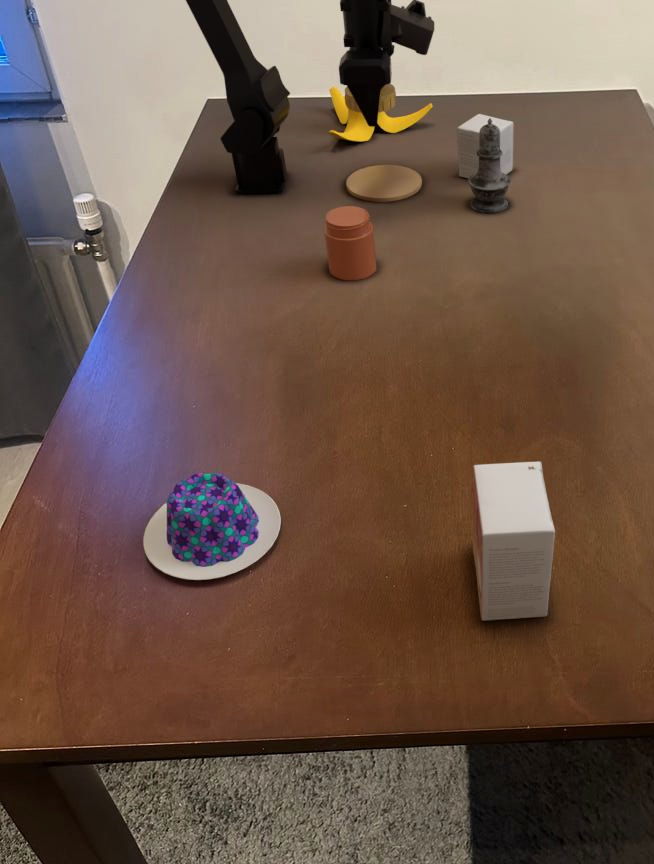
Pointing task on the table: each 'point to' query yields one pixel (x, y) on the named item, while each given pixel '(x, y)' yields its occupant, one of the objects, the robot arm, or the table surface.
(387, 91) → the jar lid
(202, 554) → the pudding
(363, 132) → the banana peel
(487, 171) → the grey tall turned piece
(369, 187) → the coaster
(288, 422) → the table surface
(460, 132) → the product box
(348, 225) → the jar
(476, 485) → the small box
